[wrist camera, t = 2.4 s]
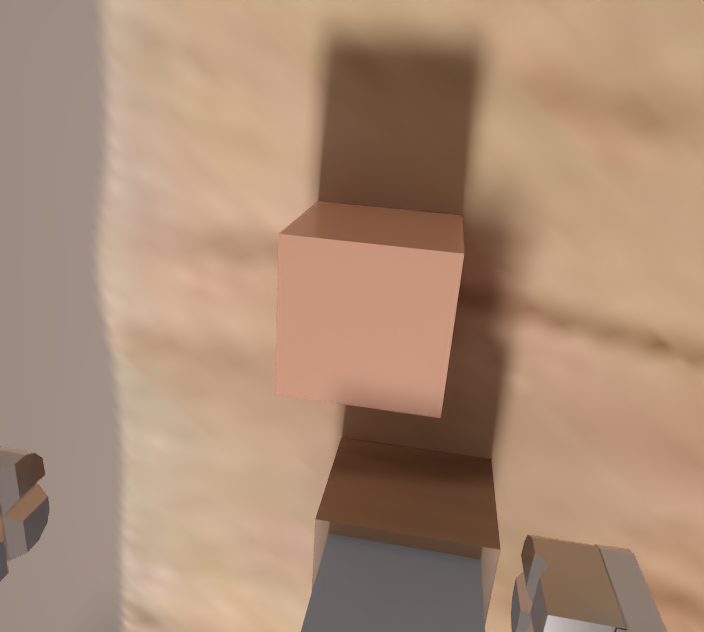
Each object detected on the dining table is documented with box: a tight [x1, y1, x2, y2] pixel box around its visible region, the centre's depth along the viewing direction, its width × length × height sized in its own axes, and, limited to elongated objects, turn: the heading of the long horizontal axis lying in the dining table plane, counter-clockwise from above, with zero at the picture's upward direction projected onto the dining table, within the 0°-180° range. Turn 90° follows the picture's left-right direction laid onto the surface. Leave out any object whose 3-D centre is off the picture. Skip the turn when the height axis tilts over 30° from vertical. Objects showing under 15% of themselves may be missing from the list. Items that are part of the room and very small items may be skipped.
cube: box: [276, 201, 464, 418], centre depth 19 cm, size 5×5×5 cm
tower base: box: [312, 438, 500, 623], centre depth 22 cm, size 6×6×5 cm
